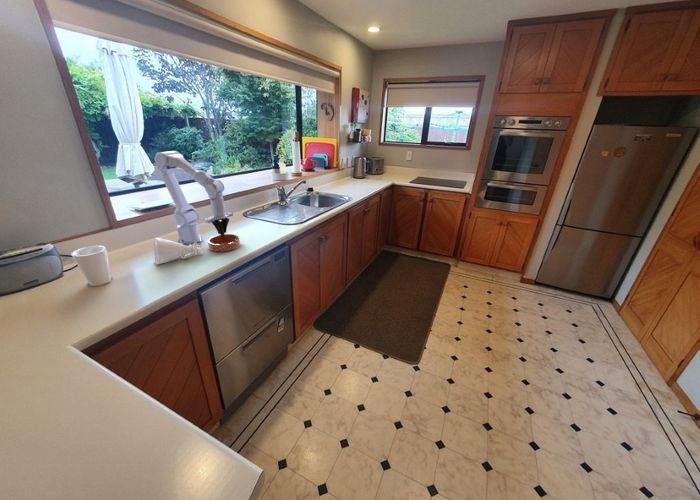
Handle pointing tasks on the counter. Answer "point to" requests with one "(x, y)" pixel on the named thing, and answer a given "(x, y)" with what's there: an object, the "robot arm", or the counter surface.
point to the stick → (222, 232)
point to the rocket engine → (173, 250)
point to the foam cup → (93, 264)
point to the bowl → (224, 243)
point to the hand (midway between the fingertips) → (222, 233)
